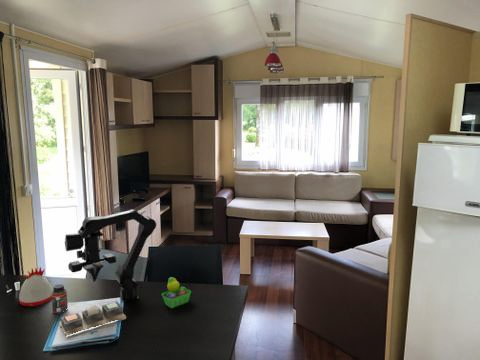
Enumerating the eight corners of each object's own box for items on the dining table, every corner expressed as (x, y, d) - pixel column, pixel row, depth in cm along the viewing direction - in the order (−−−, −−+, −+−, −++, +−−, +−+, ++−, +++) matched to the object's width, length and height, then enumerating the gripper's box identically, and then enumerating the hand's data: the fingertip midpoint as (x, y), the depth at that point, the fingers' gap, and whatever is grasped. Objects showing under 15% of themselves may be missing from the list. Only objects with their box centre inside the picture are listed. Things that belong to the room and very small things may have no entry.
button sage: (115, 308, 162) (115, 302, 162) (118, 312, 159) (118, 306, 159) (106, 311, 160) (105, 305, 159) (109, 315, 157) (108, 308, 156)
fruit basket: (170, 310, 164) (169, 285, 162) (159, 303, 170) (158, 279, 169) (192, 302, 171) (191, 278, 169) (181, 295, 178) (180, 272, 176)
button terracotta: (76, 320, 153) (75, 313, 152) (78, 324, 149) (78, 318, 149) (65, 323, 150) (64, 317, 150) (67, 327, 147) (67, 321, 147)
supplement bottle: (61, 314, 160) (59, 289, 159) (49, 313, 162) (47, 288, 160) (70, 308, 166) (69, 283, 165) (58, 306, 167) (56, 282, 166)
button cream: (96, 311, 157) (95, 305, 157) (99, 315, 154) (98, 308, 154) (86, 314, 155) (85, 307, 154) (89, 318, 152) (88, 311, 151)
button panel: (116, 307, 166) (115, 298, 166) (126, 318, 157) (125, 309, 156) (59, 324, 153) (58, 314, 152) (66, 337, 143) (65, 327, 143)
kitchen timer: (55, 300, 174) (53, 269, 171) (21, 309, 166) (17, 276, 164) (50, 289, 185) (48, 260, 183) (18, 297, 177) (15, 266, 175)
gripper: (106, 238, 175) (107, 270, 177) (63, 246, 163) (65, 281, 165) (116, 244, 167) (117, 277, 169) (71, 253, 155) (73, 289, 157)
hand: (94, 281), depth 165 cm, fingers closed
